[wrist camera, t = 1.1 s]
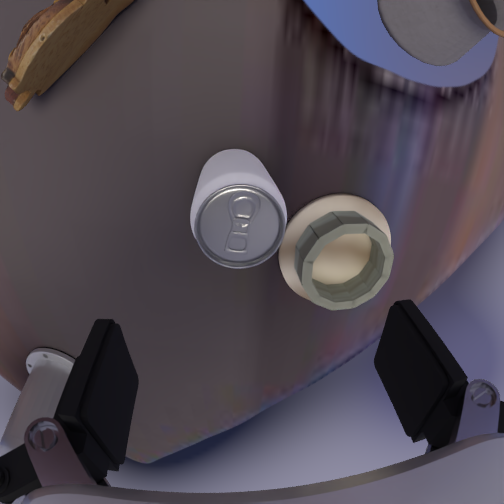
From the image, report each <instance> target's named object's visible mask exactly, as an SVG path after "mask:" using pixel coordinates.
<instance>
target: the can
mask: <svg viewBox="0 0 504 504" xmlns="http://www.w3.org/2000/svg"><path fill="white" fill-rule="evenodd" d="M190 222H191V228H192V232H193V235H194V237H195V239H196V240H197V243H198V245H199V247H200V249H201V250H202V251H203V253H204V254H205V255H206V256H207V257H208V258H209V259H211V260H212V261H214V262H215V263H217V264H219V265H221V266H224V267H228V268H234V269H243V268H250V267H253V266H256V265H259V264H261V263H263V262H264V261H266V260H267V259H269V258H270V257H271V256H272V255H273V254H274V253H275V252H276V251H277V250H278V248H279V247H280V245H281V243H282V241H283V238H284V234H285V228H286V223H287V211H286V206H285V202H284V199H283V197H282V195H281V193H280V191H279V190H278V188H277V186H276V185H275V183H274V181H273V180H272V178H271V176H270V175H269V173H268V172H267V170H266V169H265V167H264V166H263V164H262V163H261V161H260V160H259V159H258V158H257V157H256V156H254V155H253V154H251V153H250V152H248V151H245V150H241V149H228V150H223V151H221V152H218V153H216V154H215V155H213V156H212V157H211V158H210V159H209V160H208V161H207V162H206V164H205V165H204V167H203V169H202V171H201V174H200V177H199V180H198V184H197V187H196V191H195V194H194V198H193V202H192V206H191V213H190Z"/></svg>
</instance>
